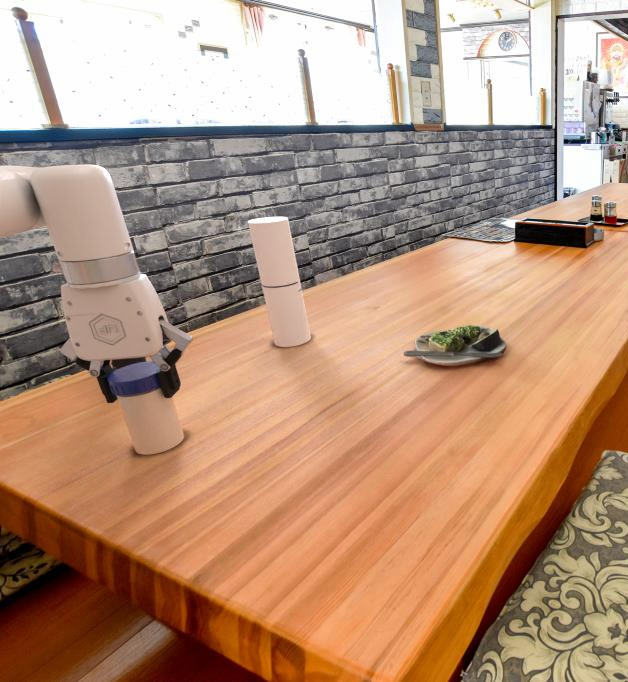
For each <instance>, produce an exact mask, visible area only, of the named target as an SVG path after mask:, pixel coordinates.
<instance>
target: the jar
mask: <svg viewBox="0 0 628 682" xmlns="http://www.w3.org/2000/svg"><path fill="white" fill-rule="evenodd" d="M116 397H117V400H116V401H117V403H118V406H119V408H120V412H121V415H122V416H123V419H124V423H125V426H126V429H127V431H128V433H129V436H130V439H131V442H132V446H133V448H134V451H135V453H137V454H139V455H142V456H145V455H146V456H148V455H156V454H161V453H163V452H166V451H169V450H171V449H173V448H175V447H177V446H178V445H179V444H180V443H182V442H183V441H184V439H185V433H184V429H183V427H182V423H181V420H180V418H179V414H178V411H177V408H176V404H175V401H174V398H173V396H172V397H171V398H165V397H164V395H163V392H162V389H161V386H160V387H158V388H155V389H153V390H150V391H147V392H144V393H140V394H135V395H127V396H120V395H116Z"/></svg>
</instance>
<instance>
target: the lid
mask: <svg viewBox="0 0 628 682" xmlns="http://www.w3.org/2000/svg"><path fill="white" fill-rule="evenodd" d="M159 371H160V368H159V367H158V366H157V365H156V364H155V363H154V362H153V361H152V360H151V361H148V360H147V361H146V362H140V363H135V364H131V365H128V366H125V367H122V368H120V369H117V370H115V371H114V372H112V373H111V374H109V375H108V377H107V380H108V383H109V384H108V385H109V388H110V390H111V392H112V393H113V394H115V395H120V396H127V395H135V394H140V393H144V392H147V391H150V390H153V389H155V388H158V387H160V383H159V380H158V376H157V373H158V372H159Z"/></svg>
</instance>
